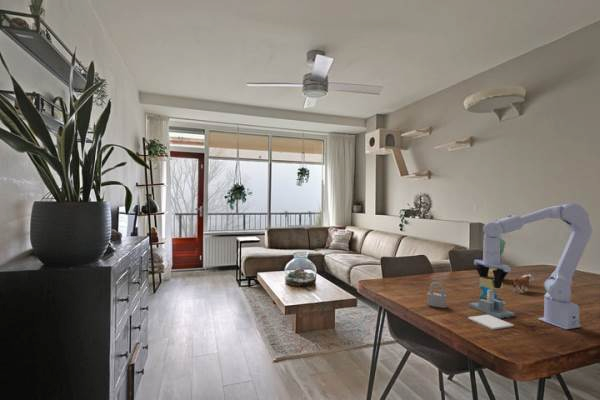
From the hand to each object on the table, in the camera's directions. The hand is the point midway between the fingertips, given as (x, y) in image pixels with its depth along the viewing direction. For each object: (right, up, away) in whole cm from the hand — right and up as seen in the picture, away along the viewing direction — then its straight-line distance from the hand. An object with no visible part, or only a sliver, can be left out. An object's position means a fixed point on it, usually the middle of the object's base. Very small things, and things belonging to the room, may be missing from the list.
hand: (490, 285), depth 122 cm
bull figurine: (+35, -11, +30) cm, 48 cm away
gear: (+9, -11, +16) cm, 21 cm away
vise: (+2, -10, +1) cm, 11 cm away
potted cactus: (+35, -11, +55) cm, 66 cm away
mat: (-7, -10, -11) cm, 17 cm away
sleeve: (0, 0, 0) cm, 0 cm away
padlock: (-19, -10, +6) cm, 23 cm away
